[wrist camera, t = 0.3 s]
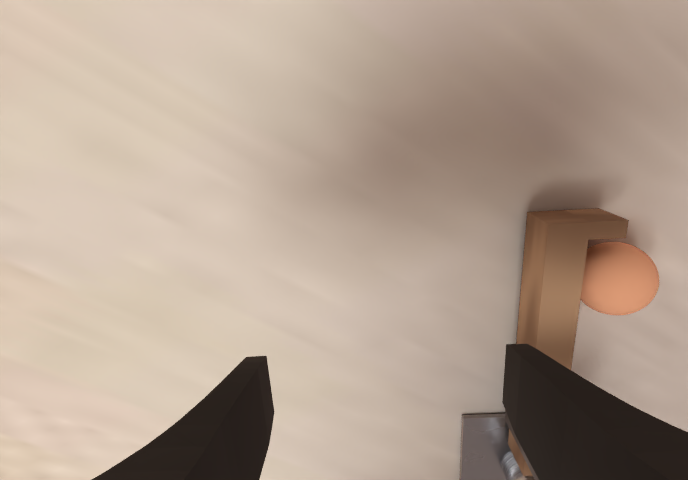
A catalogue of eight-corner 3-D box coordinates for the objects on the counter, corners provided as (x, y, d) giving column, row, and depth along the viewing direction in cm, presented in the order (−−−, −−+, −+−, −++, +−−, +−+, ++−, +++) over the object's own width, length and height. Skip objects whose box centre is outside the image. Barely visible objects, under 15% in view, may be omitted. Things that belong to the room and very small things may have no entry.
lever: (565, 441, 24) (617, 520, 19) (502, 444, 24) (538, 522, 19) (598, 208, 19) (674, 238, 15) (521, 212, 20) (573, 244, 15)
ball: (621, 293, 22) (670, 327, 18) (554, 296, 22) (591, 330, 18) (631, 231, 20) (686, 254, 17) (561, 234, 21) (602, 258, 17)
